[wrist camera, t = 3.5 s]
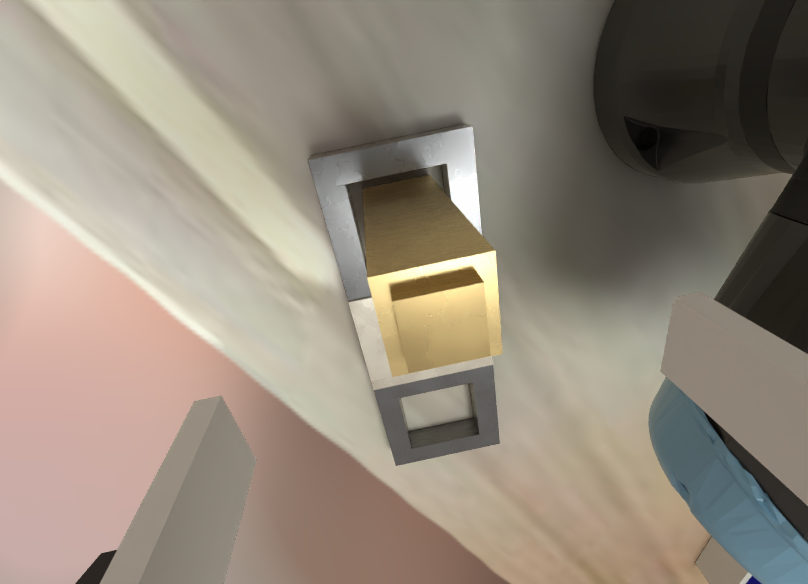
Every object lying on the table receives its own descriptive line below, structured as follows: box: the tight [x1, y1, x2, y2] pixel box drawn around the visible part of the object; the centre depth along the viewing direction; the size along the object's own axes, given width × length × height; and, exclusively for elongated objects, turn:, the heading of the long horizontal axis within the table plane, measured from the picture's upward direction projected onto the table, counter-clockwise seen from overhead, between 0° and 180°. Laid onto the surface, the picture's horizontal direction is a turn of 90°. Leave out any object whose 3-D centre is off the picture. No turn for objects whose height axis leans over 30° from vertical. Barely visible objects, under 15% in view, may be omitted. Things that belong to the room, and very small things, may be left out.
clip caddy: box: [695, 537, 752, 584], centre depth 52 cm, size 10×18×5 cm, turn 90°
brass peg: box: [363, 175, 503, 377], centre depth 20 cm, size 5×5×15 cm
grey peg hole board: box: [308, 124, 500, 466], centre depth 30 cm, size 28×10×2 cm, turn 10°
